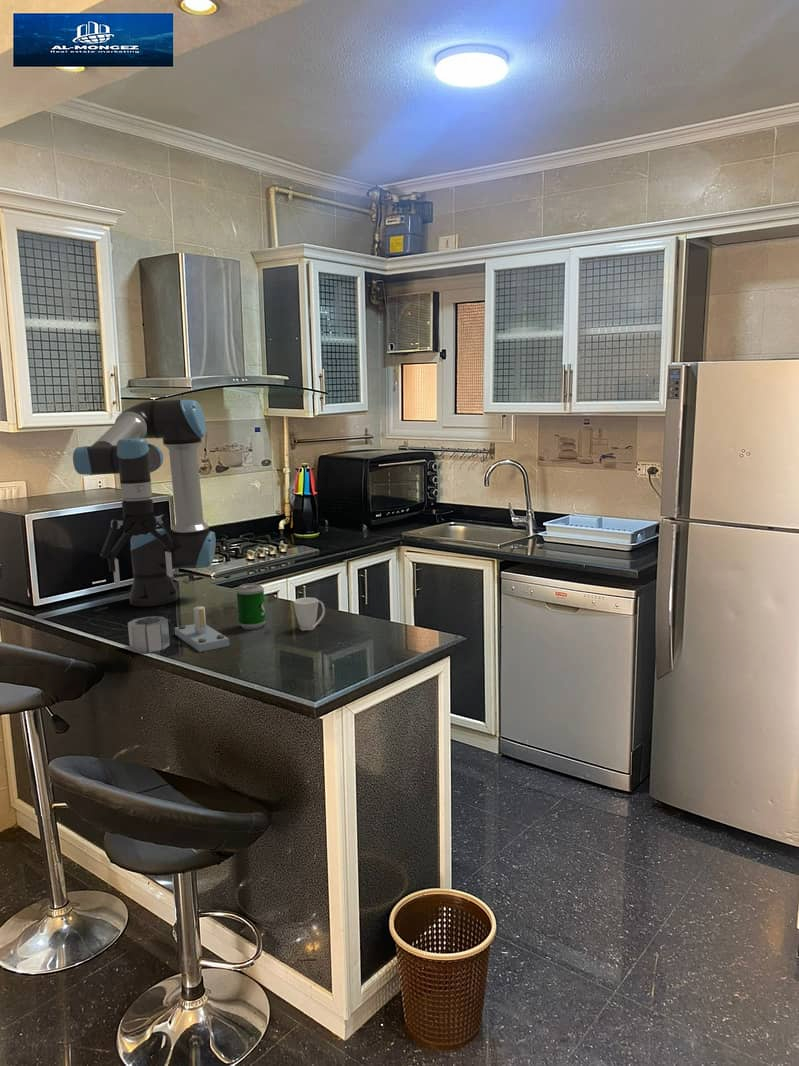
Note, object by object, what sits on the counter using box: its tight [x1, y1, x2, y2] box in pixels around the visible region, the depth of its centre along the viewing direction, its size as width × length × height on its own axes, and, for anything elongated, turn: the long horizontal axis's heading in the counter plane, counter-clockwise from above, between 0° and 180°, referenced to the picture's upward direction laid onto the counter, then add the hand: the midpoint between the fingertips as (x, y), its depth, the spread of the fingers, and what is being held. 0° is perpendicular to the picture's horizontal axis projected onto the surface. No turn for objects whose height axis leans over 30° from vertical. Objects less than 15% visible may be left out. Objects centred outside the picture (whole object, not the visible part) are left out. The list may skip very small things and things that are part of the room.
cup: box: [292, 597, 326, 631], centre depth 221 cm, size 7×10×8 cm
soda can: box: [236, 582, 267, 630], centre depth 223 cm, size 8×8×12 cm
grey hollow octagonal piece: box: [127, 615, 170, 654], centre depth 208 cm, size 10×10×7 cm
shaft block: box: [174, 606, 230, 653], centre depth 212 cm, size 20×8×9 cm, turn 34°
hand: (144, 580), depth 205 cm, fingers open, 13 cm apart
